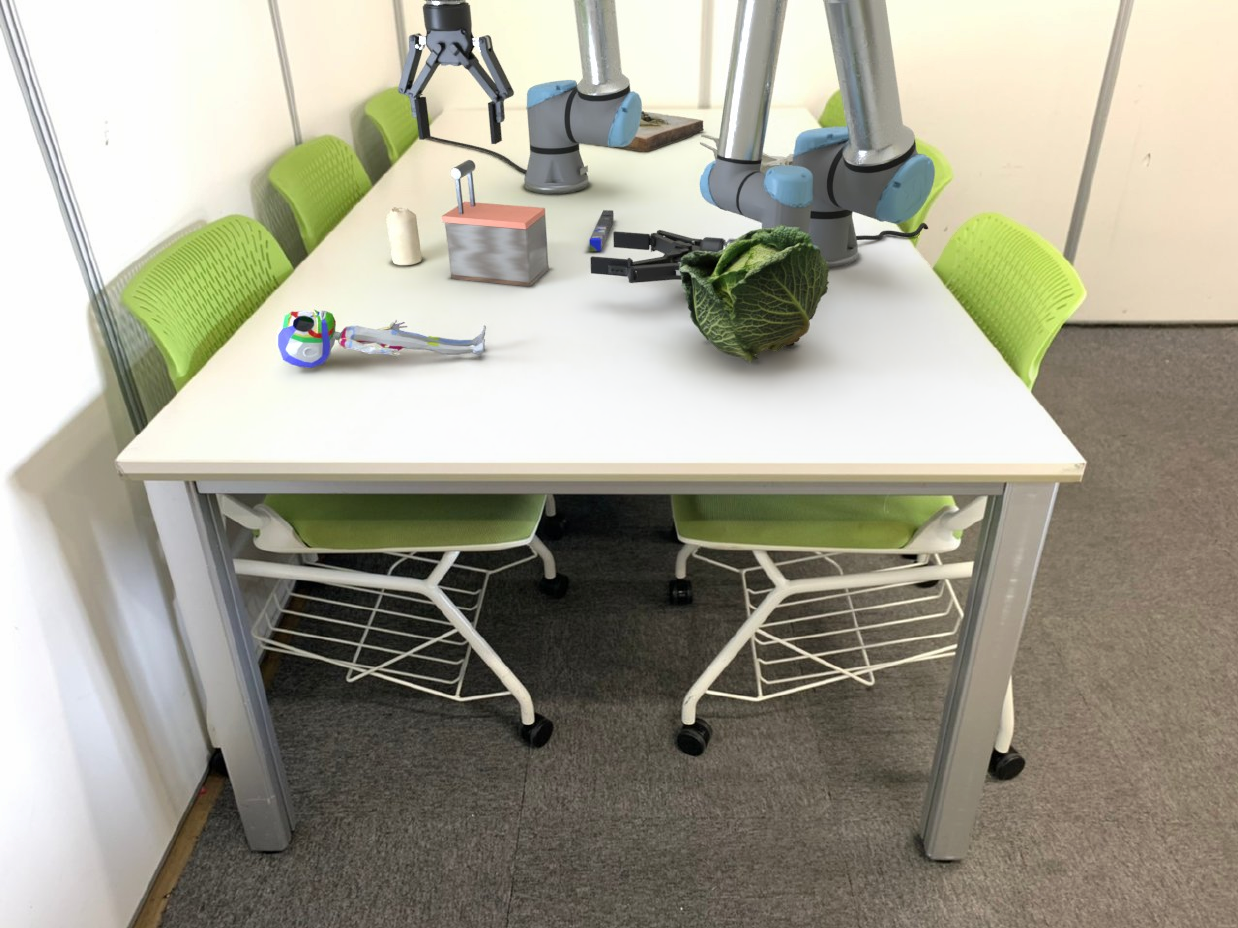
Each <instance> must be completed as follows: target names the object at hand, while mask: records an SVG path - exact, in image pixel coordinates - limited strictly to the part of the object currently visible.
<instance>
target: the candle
mask: <svg viewBox="0 0 1238 928" xmlns="http://www.w3.org/2000/svg"><path fill="white" fill-rule="evenodd" d="M417 220H418V219H417V215H416V213H414V212H413V211H412V210H411V209H409V208H403V207H393V208H391V210H390V211H389V212H388V214H387V215H386V217H385V221H386V227H387V234H388V240H389V247H390V254H391V260H392V263H393V264H394V265H396V266H397V265H398V266H411V265H416V264H418V263H420V262H421V261H422V260H423V258H422V251H421V243H420V235H419V229H418V227H419V226H418V221H417Z"/></svg>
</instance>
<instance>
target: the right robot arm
mask: <svg viewBox="0 0 1238 928" xmlns="http://www.w3.org/2000/svg"><path fill="white" fill-rule="evenodd" d="M788 1H789V0H737V7H736V14H735V21H734V28H733V36H732V41H731V42H732V44H731V50H730V57H729V58H730V59H729V64H728V71H727V79H726V87H725V94H724V102H723V109H722V114H721V115H722V116H721V124H720V130H719V136H718V138H719V144H718V151H717V158H716V160H714V161H713V160H712V161H711V162H709V163H708V164H707V165H706V166H705V168H704V171H703V173H702V174H701V175H700V178H699V191H700V194H701V197H702V198H703V200H704V201H706V202H707V203H708V204H710V205H712V206H715V207H717V208H718V209H720V210H722V211H726V212H729V213H732V214H736V215H739V216H741V217H745V218H747V219H750V220H753V221H756V222H758V223H761V229H762V228H776V227H777V226H779V225H783V226H784V225H785V226H786V227H799V228H800V231H802V232H804V233H806V234H809V236H810V237H811V240H812V245H813V247H814V248H815V247H818V249H819V250H820V251H821V255H822V257H823V258H824V259H825V260H826V263H827V267H828V269H830V268H831V269H833V268H839V267H844V266H847V265H850V264H852V263H853V262H855V261H856V260H857V258H858V253H859V249H858V248H859V246H858V245H859V244H858V241H864V240H865V241H877V240H878V241H879V240H881V239H882V238H883V237H884V236H893V237H894V236H895V237H899V238H901V237H902V238H913V237H915V236H918V235H919V234H920V233H921V232H922V231H923V230H929V226H928V225H927V223H925V222H921V223H920V224H919V226H918V227H917V229H916V230H914V231H912V232H902V231H896V230H890V229H889V230H882V231H881V232H880V233H879V234H876V235H865V234H864V235H857V234H856V229H855V224H854V219H853V213H855V214H859V215H861V216H864V217H867V218H870V219H874V220H877V221H878V222H883V223H884V222H887V223H890V224H894V225H895V224H898V225H899V224H902V223H905V222H907V221H910V220H911V219H913V217H914V216H916V214H918V213H919V211H920V210H921V209H922V208H923V207H924V204H925V203H926V202H927V200H928V197H929V195H931V192H932V189H933V186H934V183H935V176H936V169H935V168H936V167H935V164H934V161H933V160H932V159H931V158H930V157H928V155H926V154H925V153H918V151H917V150H918V149H917V144H916V136H915V133H914V131H913V130H912V128H911V127H909V126H907V125H904V122H903V113H902V107H901V100H900V93H899V87H898V79H897V78H898V77H897V72H896V71H897V70H896V65H895V64H896V63H895V58H894V51H893V44H892V43H893V42H892V38H891V37H892V36H891V30H890V22H889V16H888V15H889V14H888V9H887V8H888V7H887V2H886V0H822V1H823V6H824V7H823V8H824V12H825V17H826V22H827V28H828V33H829V39H830V45H831V49H832V54H833V60H834V65H835V70H836V76H837V81H838V85H839V86H838V87H839V91H840V98H841V102H842V108H843V113H844V114H843V115H844V118H845V125H846V126H828V127H819V128H813V129H808V130H805V131H802V132H800V133H799V134H798V135H797V137H796V139H795V143H794V149H793V153H792V154H793V163H792V165H780V166H774V167H772V168H770V169H769V170H768V171H767V172H766V173H763V172H760V168H761V162H762V153H764V147H765V140H766V134H767V128H768V122H769V117H770V116H769V115H770V110H771V104H772V100H773V99H772V98H773V92H774V87H775V81H776V80H775V79H776V74H777V67H778V62H779V55H780V51H781V50H780V49H781V45H782V38H783V32H784V26H785V19H786V13H787V7H788ZM736 239H737V238H729V239H728V240H727V241H726V240H725V239H724V238H722V237H711V236H707V237H706V236H705V237H704V238H693V237H689V236H685V235H682V234H678V233H673V232H670V231H666V230H662V229H658V230H656V232H651V233H642V232H629V231H613V248H619V249H629V250H641V251H649V250H650V253H653V252H656V251H657V252H660V253H661V254H663V256H658V257H652V258H647V259H641V260H634V261H633V259H632V258H630V257H628V258H618V257H605V256H590V259H589V260H590V274H591V275H592V274H594V275H603V276H617V277H626V278H627V279H628V283H629V284H639V283H649V282H660V281H671V280H672V281H673V280H675V281H682V279H681V274H680V271H679V266H680V263H681V258H682V257H683V256H684V255H687V254H688V253H691V252H694V251H697V250H698V251H711V252H718V251H720V250H723V249H725V248H726V247H727V245H728V244H730V243H733V242H734V241H735V240H736Z"/></svg>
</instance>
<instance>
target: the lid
mask: <svg viewBox="0 0 1238 928" xmlns="http://www.w3.org/2000/svg"><path fill="white" fill-rule="evenodd" d="M475 170H476V163H475V162H474V161H473V160H471V159H467V160H465V161H463V162H462V163H460V164H458V165H456V166H454V167H453V168H451V170H450V176H451V178H452V179H453V180H454V182H455V191H456V200H457V206H455V207H454V208H452V209H451V210H449V211H447V212H446V213H444V214H442V215H441V222H442V223H444V224H445V223H457V224H468V225H480V226H492V227H503V228H515V229H527V228H528V227H529V226H531V225H532V224H533V223H535V222H536V221H537V220H538V219H540V218H541V217H542V216H544V215H545V216H546V208H545V207H538V206H524V205H513V204H500V203H499V204H498V203H487V202H476V196H475V186H474V185H475V184H474V177H473V175H474V174H473V172H474V171H475ZM465 176H467V185H468V193H469V201H464V200H463V192H462V183H461V182H462V181H461V179H462V178H464V177H465Z"/></svg>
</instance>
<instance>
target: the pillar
mask: <svg viewBox="0 0 1238 928" xmlns="http://www.w3.org/2000/svg"><path fill="white" fill-rule="evenodd" d="M614 216H615V215H614V210H613V209H612V210H611V209H602V212H601V214H600V216H599V219H598V221H597V222H596V225H595V227H594V229H593V231H592V234H591V236H590V237H589V241H588V243H589V244H588V245H589V246H588V247H589V248H588V250H589V252H601V251H602V249H603V247H604V245H605V242H606V239H607V237H608V235H609V232H610V231H611V228H612V226H613V223H614Z"/></svg>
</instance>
